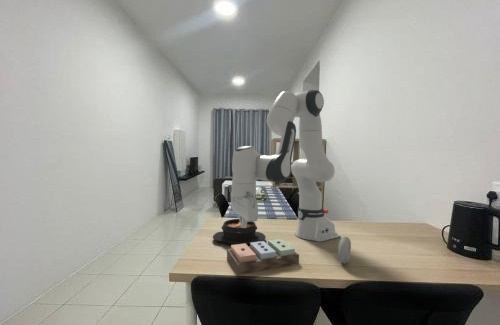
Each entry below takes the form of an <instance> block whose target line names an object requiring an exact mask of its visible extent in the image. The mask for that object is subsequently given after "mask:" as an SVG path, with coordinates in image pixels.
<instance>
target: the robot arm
mask: <svg viewBox="0 0 500 325" xmlns="http://www.w3.org/2000/svg"><path fill="white" fill-rule="evenodd" d="M324 102H325V100H324V96H323V94H322V93H321V92H320V91H319V90H318V89H317V90H316V89H310V90H306V91H305V90H304V91H303V90H302V91H299V92H295V93H294V92H292V91H288V90H287V91H282V92H280V93H279V95H278V96H277V97H276V99H275V100H274V102H273V104H272V105H271V107H270V109H269V111H268V113H267V118H266V125H267V127H268V128H269V130H270V131H271V132H272V133H273V134H275V135H277V136H280V141H279V147H278V151H277V152H276V153H275V154H273V155H264V154H261V153H260V152H258V151H257V150H256V147H255V146H252V145H244V146H243V145H242V146H239V147H236V148H235V149H234V150H233V154H232V162H231V163H232V164H231V171H232V178H231V179H232V180H231V185H230V186H229V193H230V206H231V209H232V210H233V211H234V212H236V213H237V214H238V219H239V220H240V226H241V227H242V228H246V227H247V222H257V221H258V219H259V207H258V200H257V199H256V198H255V196H256V190H257V186H256V185H257V181H256V180H259V181H267V182H272V183H276V184H281V183H283V182H285V181H286V180H287V179H288V178H289V177H290V174H291V173H292V176H294V179H295V180H296V183H297V186H298V193H299V194H298V196H299V201H298V202H299V203H298V204H299V205H298V208H297V215H298V218H297V219H298V220H297V225H296V226H297V227H296V230H295V236H296V237H298V238H300V239H304V240H308V241H316V242H325V241H328V240H332V239H336V238H340V237H341V234H340V233H339V232H338V231H336V226H335V223H334V222H333V221H332V220H330V218H329V217H327V216H326V215H327V214H329V212H330V211H329V209H326V208H325V209H324V208H322V207H323V206H322V205H323V194H322V191H321V190H320V188H319V187H318V185H317V183H325V182H329V181H331V180H332V179H333V178H334V176H335V166H334V164H333V163H332V162H331V161H330V159H329V158H328V157H327V154H326V152H325V149H324V144H323V128H322V126H323V125H322V119H321V114H320V113H321V112H322V110H323V108H324V104H325V103H324ZM295 118H299V122H298V123H299V124H298V140H299V142H298V143H299V145H298V146H299V148H300V149H301V151H302V152H303V154H304V156H305V158H299V159H296V160H294V161H293V162H292V158H293V152H294V147H295V142H296V136H297V127H296V124H295V123H294V120H295ZM325 214H326V215H325Z"/></svg>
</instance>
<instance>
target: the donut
mask: <svg viewBox="0 0 500 325" xmlns="http://www.w3.org/2000/svg"><path fill="white" fill-rule="evenodd" d="M337 250H338V252H337V255H338V256H337V257H338V261H339V262H340V263H341V264H344V265H345V264H347V263H348V262H349V260H350V258H351V250H352V242H351V239H350V238H349V237H348V236H342V237H341V238H340V240H339V244H338V249H337Z"/></svg>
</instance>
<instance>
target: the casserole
mask: <svg viewBox="0 0 500 325" xmlns="http://www.w3.org/2000/svg"><path fill="white" fill-rule="evenodd" d="M221 230H222V231H218V232H216V233H214V234H213V236H212V239H213V240H214V241H217V242H223V243H227V244H231V245H237V244H244V243H246V245H248V244H250V243H252V242H260V241H265V240H266V235H265V234H264V233H263V232H260V231H257V230H258V226H257V224H256V221H253V222H247V227H246V228H242V227H241V226H240V220H239V218H232V219H228V220H226V221H224V222H223V224H222V226H221Z"/></svg>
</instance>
